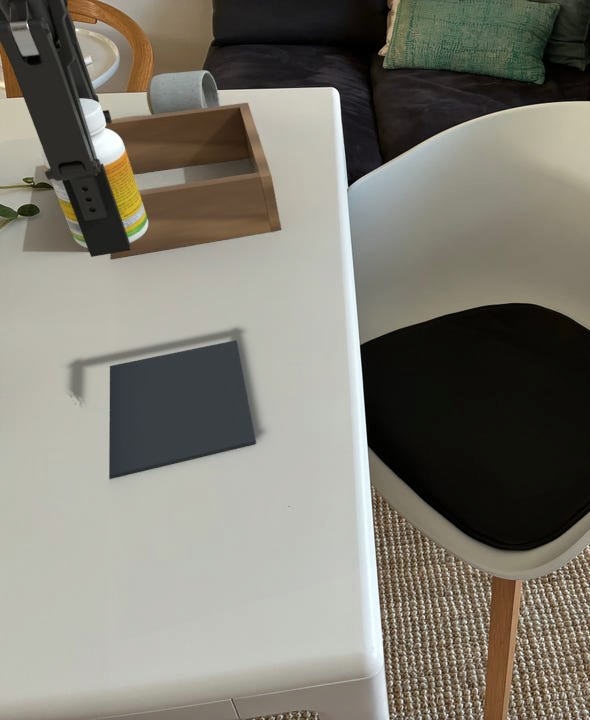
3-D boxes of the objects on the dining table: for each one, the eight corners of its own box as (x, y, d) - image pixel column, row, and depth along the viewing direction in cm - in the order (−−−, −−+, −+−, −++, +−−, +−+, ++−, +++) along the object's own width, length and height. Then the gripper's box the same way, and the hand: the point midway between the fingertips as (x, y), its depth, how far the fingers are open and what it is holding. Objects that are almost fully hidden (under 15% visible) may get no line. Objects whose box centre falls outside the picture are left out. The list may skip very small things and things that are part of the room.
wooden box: (97, 175, 100) (79, 123, 96) (257, 152, 106) (247, 102, 101) (94, 262, 85) (72, 205, 81) (281, 230, 91) (271, 175, 86)
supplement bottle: (152, 211, 62) (115, 90, 55) (146, 247, 58) (105, 121, 51) (80, 218, 61) (34, 97, 54) (68, 255, 57) (17, 129, 50)
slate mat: (81, 375, 71) (79, 371, 71) (237, 343, 75) (236, 339, 75) (76, 486, 61) (74, 483, 61) (256, 443, 65) (255, 440, 65)
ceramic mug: (168, 114, 115) (154, 62, 110) (224, 114, 115) (212, 62, 110) (147, 147, 107) (130, 93, 102) (207, 147, 107) (193, 93, 102)
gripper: (48, -99, 38) (169, 287, 53) (64, -154, 51) (157, 169, 67) (-126, -89, 36) (50, 309, 51) (-63, -148, 49) (62, 182, 65)
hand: (110, 229), depth 59 cm, fingers closed on supplement bottle, 5 cm apart
